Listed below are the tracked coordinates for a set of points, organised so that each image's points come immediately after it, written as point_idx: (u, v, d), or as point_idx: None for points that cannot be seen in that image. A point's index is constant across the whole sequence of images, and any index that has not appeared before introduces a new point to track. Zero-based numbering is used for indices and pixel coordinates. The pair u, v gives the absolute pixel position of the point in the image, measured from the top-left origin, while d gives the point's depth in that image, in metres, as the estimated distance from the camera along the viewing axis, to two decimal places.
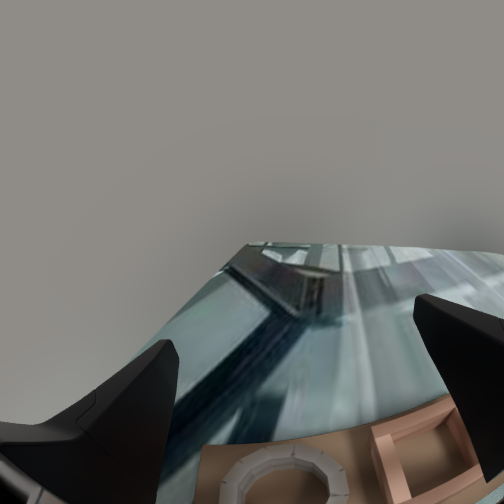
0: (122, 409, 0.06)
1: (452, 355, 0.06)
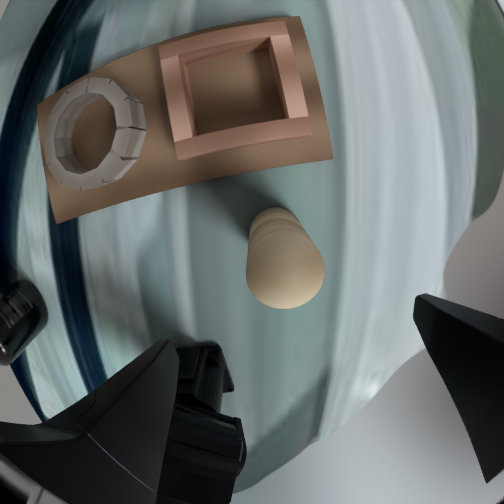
0: (122, 409, 0.06)
1: (452, 355, 0.06)
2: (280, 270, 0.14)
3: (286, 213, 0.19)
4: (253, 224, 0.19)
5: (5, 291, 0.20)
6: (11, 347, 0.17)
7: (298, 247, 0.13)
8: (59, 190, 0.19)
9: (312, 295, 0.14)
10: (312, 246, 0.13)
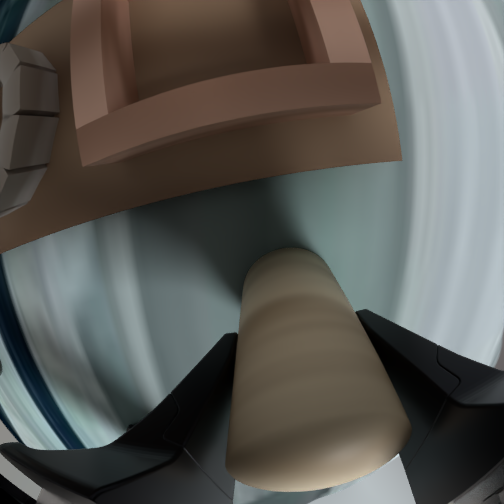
0: (207, 412, 0.05)
1: None
2: (309, 461, 0.04)
3: (314, 269, 0.09)
4: (248, 289, 0.10)
5: None
6: None
7: (365, 427, 0.04)
8: None
9: (368, 472, 0.05)
10: (400, 417, 0.04)
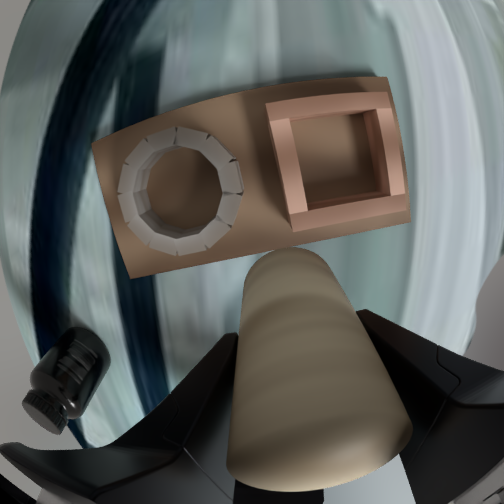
0: (207, 412, 0.05)
1: None
2: (310, 461, 0.04)
3: (315, 268, 0.09)
4: (249, 288, 0.10)
5: (63, 343, 0.22)
6: (83, 403, 0.19)
7: (367, 426, 0.04)
8: (134, 244, 0.21)
9: (369, 471, 0.05)
10: (401, 417, 0.04)
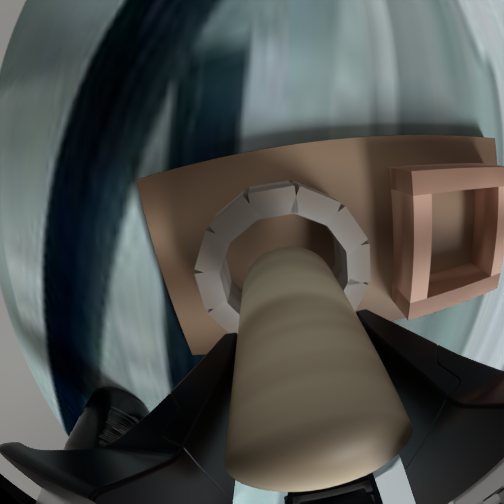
0: (207, 413, 0.05)
1: None
2: (309, 461, 0.04)
3: (314, 268, 0.09)
4: (248, 288, 0.10)
5: (99, 411, 0.18)
6: None
7: (366, 426, 0.04)
8: (201, 320, 0.17)
9: (369, 472, 0.05)
10: (400, 417, 0.04)
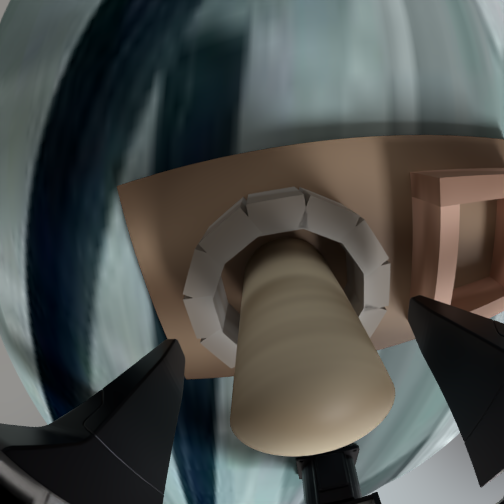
0: (130, 410, 0.06)
1: (446, 358, 0.06)
2: (303, 416, 0.05)
3: (308, 255, 0.10)
4: (249, 273, 0.11)
5: None
6: None
7: (351, 380, 0.05)
8: (195, 344, 0.14)
9: (359, 436, 0.06)
10: (381, 374, 0.05)
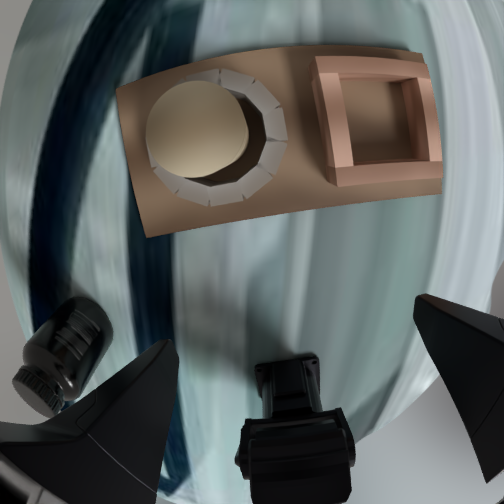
0: (122, 409, 0.06)
1: (452, 355, 0.06)
2: (185, 122, 0.09)
3: None
4: None
5: (62, 313, 0.20)
6: (82, 382, 0.18)
7: (207, 92, 0.09)
8: (154, 198, 0.19)
9: (230, 156, 0.10)
10: (225, 90, 0.09)
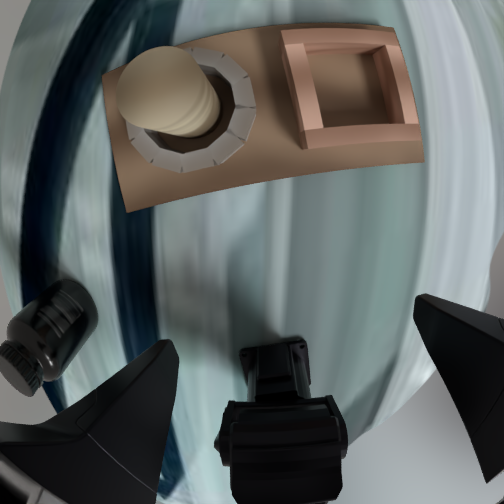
0: (122, 409, 0.06)
1: (452, 355, 0.06)
2: (149, 81, 0.09)
3: None
4: None
5: (47, 293, 0.20)
6: (62, 360, 0.17)
7: (168, 55, 0.09)
8: (135, 173, 0.18)
9: (187, 105, 0.10)
10: (184, 51, 0.09)
